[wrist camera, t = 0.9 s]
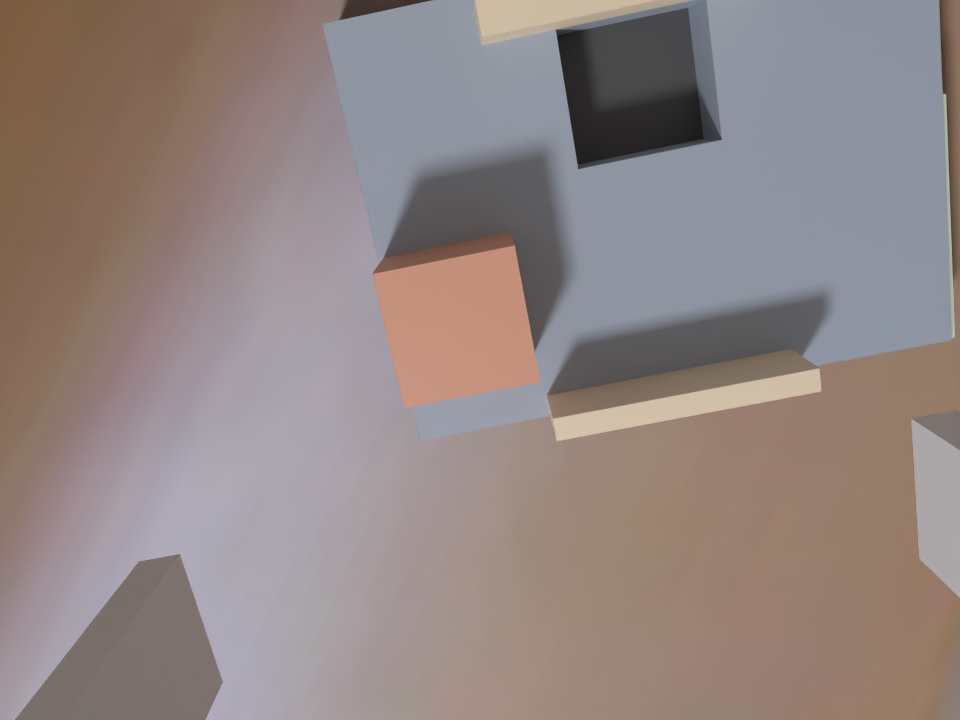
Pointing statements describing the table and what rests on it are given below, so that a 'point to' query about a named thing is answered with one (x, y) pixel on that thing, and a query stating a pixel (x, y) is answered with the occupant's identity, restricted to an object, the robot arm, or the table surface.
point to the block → (456, 320)
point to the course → (665, 188)
